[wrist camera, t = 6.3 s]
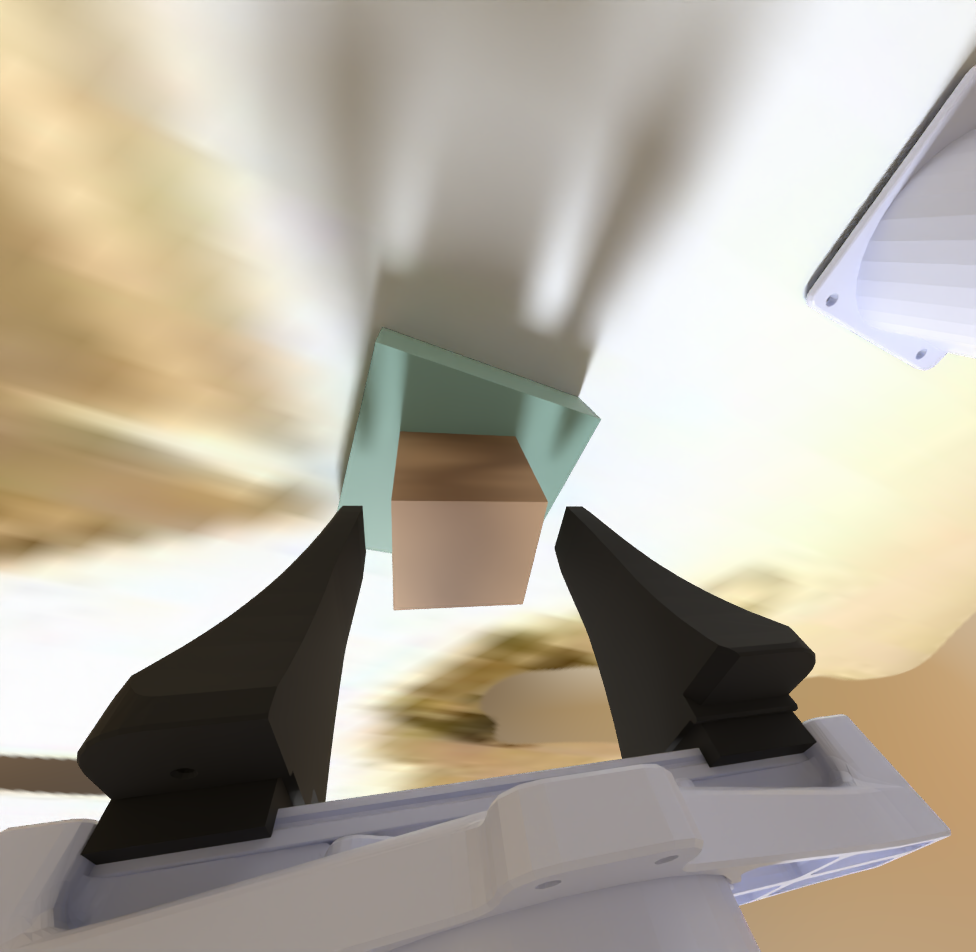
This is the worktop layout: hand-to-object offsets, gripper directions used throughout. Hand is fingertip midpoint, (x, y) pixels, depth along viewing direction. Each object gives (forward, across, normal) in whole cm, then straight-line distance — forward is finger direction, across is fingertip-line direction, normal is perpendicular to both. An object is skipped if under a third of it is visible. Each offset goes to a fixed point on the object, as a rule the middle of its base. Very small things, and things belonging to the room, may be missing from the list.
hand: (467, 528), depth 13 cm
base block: (+6, 0, 0) cm, 6 cm away
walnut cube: (+3, 0, 0) cm, 3 cm away
